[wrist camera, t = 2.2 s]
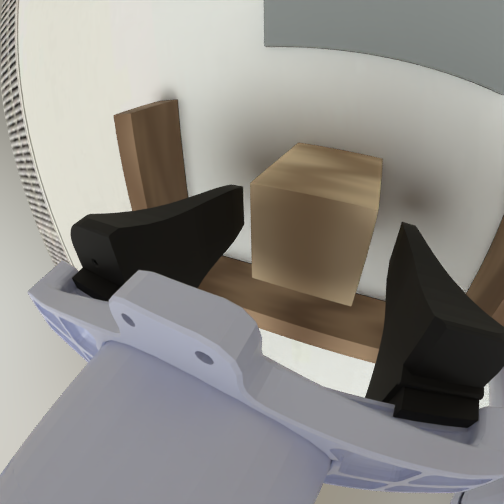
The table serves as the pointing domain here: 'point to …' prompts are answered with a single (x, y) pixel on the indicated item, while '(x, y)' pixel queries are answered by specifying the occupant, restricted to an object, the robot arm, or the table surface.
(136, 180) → the wooden u-shaped frame
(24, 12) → the table surface
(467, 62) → the slate mat
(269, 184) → the oak block
